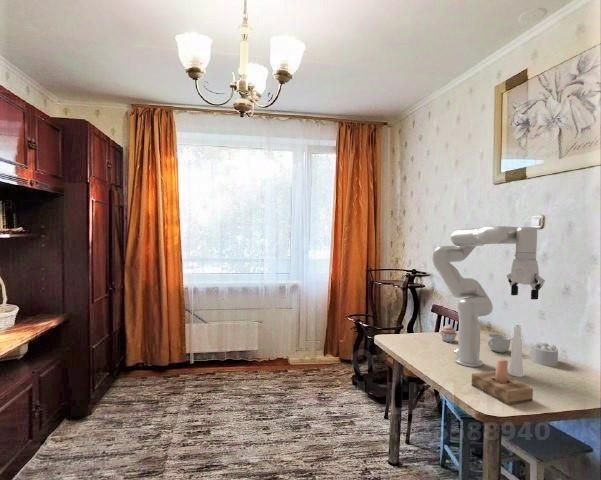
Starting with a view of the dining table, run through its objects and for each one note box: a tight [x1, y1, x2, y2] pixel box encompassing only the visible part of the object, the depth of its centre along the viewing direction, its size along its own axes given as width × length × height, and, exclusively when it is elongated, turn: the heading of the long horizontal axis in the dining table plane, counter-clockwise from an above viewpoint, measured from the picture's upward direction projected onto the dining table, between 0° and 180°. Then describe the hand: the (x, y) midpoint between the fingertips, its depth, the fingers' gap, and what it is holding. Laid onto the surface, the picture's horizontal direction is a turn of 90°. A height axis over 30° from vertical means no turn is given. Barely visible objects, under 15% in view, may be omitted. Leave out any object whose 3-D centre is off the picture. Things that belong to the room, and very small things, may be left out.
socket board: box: [470, 370, 534, 406], centre depth 150 cm, size 18×12×5 cm, turn 18°
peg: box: [495, 358, 509, 384], centre depth 150 cm, size 4×4×12 cm
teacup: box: [487, 333, 512, 354], centre depth 204 cm, size 14×11×8 cm
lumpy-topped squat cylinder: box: [529, 341, 559, 368], centre depth 188 cm, size 10×13×9 cm
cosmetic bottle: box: [507, 324, 525, 378], centre depth 170 cm, size 6×6×22 cm
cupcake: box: [439, 323, 458, 343], centre depth 221 cm, size 9×9×10 cm
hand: (524, 297), depth 160 cm, fingers open, 9 cm apart
